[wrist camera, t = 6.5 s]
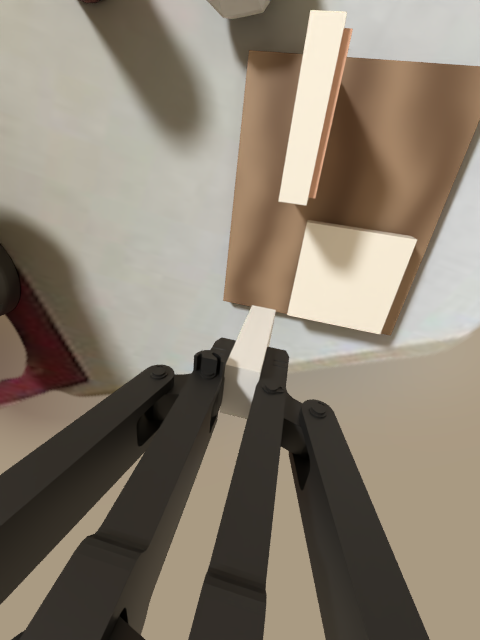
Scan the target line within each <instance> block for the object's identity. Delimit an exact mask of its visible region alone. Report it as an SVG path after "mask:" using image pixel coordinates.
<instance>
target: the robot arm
mask: <svg viewBox="0 0 480 640" xmlns="http://www.w3.org/2000/svg"><path fill="white" fill-rule="evenodd" d="M19 298H20V282H19V278H18V274H17V271H16V269H15V267H14V264H13V262H12V261H11V259H10V257H9V256H8V254H7V253H6V251H5V250H4V248H3V247H2V246H1V245H0V316H1V315H4V314H6V313H9V312H10V311H12V310H13V309H14V308H15V307H16V306H17V304H18V301H19ZM275 312H276V310H274V309H269V308H264V307H259V306H254V305H252V307H251V309H250V311H249V313H248V316H247V318H246V320H245V322H244V325H243V327H242V329H241V331H240V333H239V336H238V338H237V340H236V341H235V340H230V339H226V338H220V339H219V340H217V341H215V343H214V345H213V347H212V348H211V350H204V351H200V352H198V353H196V354H195V355H194V370H193V372H192V373H191V374H184V375H174V371H173V369H172V368H170V367H169V366H166V365H154V366H151V367H149V368H147V369H145V370H144V371H143V372H141V373H140V374H139V375H137V376H136V377H134V378H133V379H132V380H130V381H129V382H128V383H126V384H125V385H123V386H122V387H121V388H119V389H118V390H117V391H115V392H114V393H112V394H111V395H110V396H108V397H107V398H106V399H104V400H103V401H101V402H100V403H99V404H97V405H96V406H95V407H93V408H92V409H91V410H89V411H88V412H86V413H85V414H84V415H82V416H81V417H80V418H78V419H77V420H75V421H74V422H73V423H71V424H70V425H69V426H67V427H66V428H64V429H63V430H62V431H60V432H59V433H57V434H56V435H55V436H54V437H52V438H51V439H49V440H48V441H47V442H45V443H44V444H42V445H41V446H40V447H38V448H37V449H36V450H34V451H33V452H31V453H30V454H29V455H27V456H26V457H24V458H23V459H22V460H20V461H19V462H18V463H16V464H15V465H14V466H12V467H11V468H9V469H8V470H7V471H5V472H4V473H2V474H1V475H0V604H1V603H2V602H3V601H4V600H5V599H6V598H7V597H8V596H9V595H10V594H11V593H12V592H13V591H14V590H15V589H16V588H17V587H18V585H19V584H20V583H21V582H22V581H23V580H24V579H25V578H26V577H27V576H28V575H29V574H30V573H31V572H32V571H33V570H34V568H35V567H36V566H37V565H38V564H39V563H40V562H41V561H42V560H43V559H44V558H45V557H46V556H47V555H48V554H49V552H50V551H52V549H53V548H54V547H55V546H56V545H57V544H58V543H59V542H60V541H61V540H62V539H63V538H64V537H65V536H66V535H67V534H68V533H69V531H70V530H71V529H72V528H73V527H74V526H75V525H76V524H77V523H78V522H79V521H80V520H81V519H82V518H83V517H84V516H85V515H86V513H87V512H88V511H89V510H90V509H91V508H92V507H93V506H94V505H95V504H96V503H97V502H98V501H99V500H100V498H101V497H102V496H103V495H104V494H105V493H106V492H107V491H108V490H109V489H110V488H111V487H112V486H113V485H114V484H115V483H116V482H117V481H118V479H119V478H120V477H121V476H122V475H123V474H124V473H125V472H126V471H127V470H128V469H129V468H130V467H131V466H132V465H133V464H134V463H135V462H136V461H137V459H138V458H139V457H140V456H141V455H142V454H143V453H144V452H145V453H144V455H143V457H142V458H141V460H140V461H139V463H138V465H137V466H136V468H135V470H134V471H133V473H132V475H131V476H130V478H129V480H128V481H127V483H126V485H125V486H124V488H123V490H122V492H121V493H120V495H119V497H118V498H117V500H116V502H115V503H114V505H113V507H112V508H111V510H110V512H109V513H108V515H107V517H106V519H105V520H104V522H103V523H102V525H101V527H100V528H99V529H98V531H97V532H96V533H95V534H93V535H90V536H87V537H86V538H85V539H84V540H83V541H82V542H81V543H80V545H79V546H78V547H77V549H76V550H75V552H74V553H73V555H72V556H71V558H70V560H69V561H68V563H67V564H66V566H65V568H64V570H63V571H62V572H61V574H60V576H59V577H58V579H57V580H56V582H55V584H54V585H53V587H52V588H51V590H50V592H49V593H48V595H47V596H46V598H45V600H44V601H43V603H42V604H41V606H40V608H39V609H38V611H37V612H36V614H35V615H34V617H33V619H32V620H31V622H30V624H29V625H28V627H27V628H26V630H24V631H23V632H21V633H20V634H18V635H17V636H16V637H14V638H13V639H12V640H145V639H144V638H143V637H142V636H141V632H142V629H143V626H144V622H145V619H146V615H147V610H148V606H149V602H150V599H151V596H152V593H153V590H154V588H155V585H156V582H157V580H158V577H159V574H160V571H161V569H162V566H163V564H164V561H165V558H166V556H167V553H168V550H169V548H170V545H171V542H172V539H173V537H174V534H175V531H176V529H177V526H178V523H179V521H180V518H181V516H182V513H183V510H184V508H185V505H186V502H187V500H188V497H189V494H190V491H191V489H192V486H193V484H194V481H195V478H196V475H197V473H198V470H199V468H200V465H201V462H202V460H203V457H204V454H205V451H206V449H207V446H208V443H209V441H210V438H211V436H212V433H213V430H214V428H215V425H216V422H217V417H218V411H219V408H220V412H222V413H225V414H229V415H233V416H237V417H241V418H245V419H247V423H246V427H245V430H244V434H243V438H242V442H241V446H240V449H239V453H238V457H237V461H236V465H235V469H234V473H233V476H232V480H231V484H230V488H229V492H228V496H227V500H226V504H225V507H224V512H223V515H222V519H221V523H220V527H219V530H218V534H217V538H216V543H215V546H214V550H213V554H212V558H211V562H210V565H209V568H208V572H207V574H206V576H205V580H204V583H203V586H202V590H201V594H200V598H199V602H198V605H197V609H196V613H195V616H194V620H193V624H192V628H191V632H190V635H189V639H188V640H263V632H264V622H265V611H266V590H265V588H266V576H267V566H268V557H269V548H270V539H271V530H272V521H273V511H274V502H275V492H276V484H277V475H278V465H279V456H280V447H283V448H285V449H286V450H288V451H289V458H290V463H291V468H292V473H293V478H294V483H295V488H296V493H297V498H298V503H299V508H300V513H301V518H302V523H303V528H304V533H305V538H306V543H307V548H308V553H309V558H310V563H311V568H312V572H313V578H314V583H315V587H316V593H317V598H318V603H319V607H320V613H321V618H322V623H323V628H324V633H325V638H326V640H429V637H428V635H427V632H426V630H425V628H424V625H423V623H422V620H421V618H420V616H419V613H418V611H417V608H416V606H415V604H414V601H413V599H412V597H411V595H410V592H409V590H408V587H407V585H406V582H405V580H404V578H403V575H402V573H401V571H400V568H399V566H398V563H397V561H396V559H395V556H394V554H393V551H392V549H391V547H390V544H389V542H388V540H387V537H386V535H385V532H384V530H383V528H382V525H381V523H380V521H379V519H378V516H377V514H376V511H375V509H374V506H373V504H372V502H371V499H370V497H369V495H368V492H367V490H366V487H365V485H364V483H363V480H362V478H361V475H360V473H359V471H358V468H357V466H356V464H355V461H354V459H353V456H352V454H351V452H350V449H349V447H348V445H347V443H346V440H345V438H344V435H343V433H342V430H341V428H340V426H339V423H338V421H337V418H336V416H335V414H334V412H333V410H332V409H331V408H330V407H329V406H328V405H327V404H326V403H324V402H321V401H318V400H307V401H305V402H304V403H301V402H299V401H297V400H295V399H293V398H292V397H291V396H290V395H289V394H288V393H287V390H286V380H287V371H288V362H289V356H288V354H287V352H286V351H285V350H280V349H276V348H271V347H269V343H270V338H271V333H272V328H273V323H274V317H275ZM220 406H221V407H220Z"/></svg>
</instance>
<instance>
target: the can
mask: <svg viewBox="0 0 480 640" xmlns="http://www.w3.org/2000/svg"><path fill="white" fill-rule="evenodd" d="M80 1H83V2H85V3H97V2H99V1H100V0H80Z"/></svg>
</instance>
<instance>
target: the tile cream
mask: <svg viewBox="0 0 480 640" xmlns="http://www.w3.org/2000/svg"><path fill="white" fill-rule="evenodd" d="M346 15H347V12H340V11H319V10H310V16H309V22H308V28H307V34H306V40H305V46H304V52H303V58H302V64H301V70H300V76H299V82H298V88H297V93H296V99H295V105H294V111H293V117H292V123H291V129H290V135H289V141H288V147H287V153H286V159H285V165H284V171H283V177H282V183H281V189H280V195H279V202H286V203H293V204H299V205H307V203H308V200H309V198H315V197H316V193H317V188H318V184H319V179H320V175H321V170H322V166H323V161H324V157H325V152H326V148H327V143H328V138H329V134H330V129H331V125H332V120H333V116H334V111H335V107H336V102H337V98H338V93H339V89H340V84H341V80H342V75H343V71H344V66H345V62H346V57H347V53H348V48H349V43H350V39H351V34H352V30H353V29H349V28H344V26H345V21H346Z"/></svg>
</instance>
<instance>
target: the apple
mask: <svg viewBox="0 0 480 640" xmlns="http://www.w3.org/2000/svg"><path fill="white" fill-rule="evenodd" d="M207 1H208V2H209V3H210V4H211V5H212V6H213V7H214V9H215V10H216V11H217V12H218V13H219V14H220V15H221V16H222V17H223V18H228V19H236V18H241V17H246V16H250V15H255V14H260V13H263V12H264V11H265V9H266V7H267V6H268V4H269V3H270V1H271V0H207Z"/></svg>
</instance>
